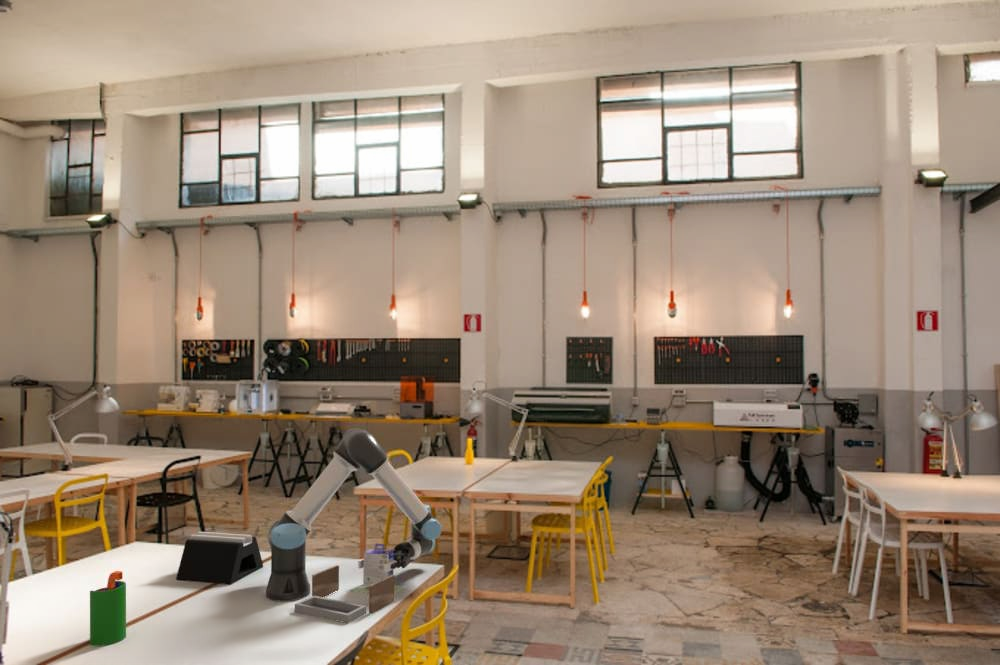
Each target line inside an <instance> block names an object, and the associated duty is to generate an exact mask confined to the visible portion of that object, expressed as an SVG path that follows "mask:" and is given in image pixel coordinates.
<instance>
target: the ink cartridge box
mask: <svg viewBox="0 0 1000 665" xmlns="http://www.w3.org/2000/svg"><path fill="white" fill-rule="evenodd" d="M385 548H386V545H385V543H375V545H374V549H368V550H365V551H364V552H363V559H364V567H363V574H362V576H363V577H362V578H363V579H362V581H363V583H362V584H363V586H366V587H369V585H372V584H374V583H376V582H378V581H380V580H382V579H384V578H387V577H389V576H391V575H394V569H393V570H391V571H389V572H386V573H383V572H384V565H385V564H387V563H389V562H391V561H394V551H393V550H394V549H391V550H389V549H385ZM384 549H385V550H384Z"/></svg>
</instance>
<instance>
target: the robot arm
mask: <svg viewBox="0 0 1000 665" xmlns="http://www.w3.org/2000/svg"><path fill="white" fill-rule="evenodd" d="M360 468H361V469H363V470H364V471H365V473H366V474H367V475H371V476H372V477H373V478H374V479H375V481H376V482H377V483H378V484H379V485H380V486H381V487H382V489H383V490H384V491H385V492H386V494H388V496H389V497H390V498H391V499H392V501H393V502H394V503H395V504H396V506H397V507H398V508H399V509H400V510H401V511H402V513H403V514H404V515H405V516H406V518H408V520H409V521H410V522H411V524H410V525H411V527H410V528H411V533H410V535H411V537H410V538H409V539H407V540H405V541H402V542H400V543H398V544H396V545H395V546H394V548H393V549H392V550H393V551H394V561H391V562H389V563H387V564H385V565H384V572H383V573H386V572H389V571H391V570H393V571H394V570H395V569H399V568H402V569H405V568H407V566H408V565H409V564H410V563H412V562H414V560H415V559H418V558H420V557H422V556H425V555H427V554H428V553H431V552H432V551H433V550H434V549H435V547H436V539H438V538H439V537H440V536H441V533H442V531H443V530H442V528H443V527H442V525H441V523H440V522H439V520H437V519H436V518H435V516H433V514H432V512H431V511H432V510H431V506H430V505H429V504H424V503H423V502H422V501H421V500H420V498H419V497H418V496H417V495H416V493H415V492H414V491H413V490H412V489H411V488H410V486H409V485H408V484H407V482H406V481H405V480H404V479H403V478H402V476H401V475H400V474H399V472H397V470H396V469H395V468H394V467H393V466H392V464H391V463H390V462H389V456H388V455H387V454H386V452H385V451H384V450H383V448H382V446H381V445H380V444H379V442H378V440H377V439H376V437H374V435H373V434H371V433H369V432H368V431H367V430H365V429H362V428H352V429H349V430H347V431H346V432H345V433H344V434H343V436H342V438H341V439H340V443H339V444H338V446H336V448H335V449H334V451H333V459H332V460H331V461H330V462H329V464H327V466H326V467H325V468H324V470H323V471H322V472H321V473H320V475H319V476H318V477H317V479H316V480H315V481H314V482H313V484H312V485H311V486H310V487H309V488H308V490H306V492H305V494H304V495H303V496H302V498H301V499H300V500H299V502H297V504H296V505H295V507H294V508H293V509H292V510H291V509H290V510H287V511H285V512H284V514H283V515H282V517H281V518H280V519H278V520H277V521H275V522H274V523H273V524H272V525H271V527H270V528H269V531H268V535H267V536H268V537H267V538H268V539H267V540H268V544H269V547H270V549H271V550H270V551H271V553H270V554H271V559H270V561H271V562H270V563H271V564H270V565H271V566H270V568H271V570H270V571H271V572H270V575H269V578H268V581H267V582H268V583H267V586H266V587H265V597H266V598H267V600H270V601H276V602H289V601H296V600H299V599H303V598H305V597H308V596H309V595H310V594H311V584H310V583H309V579H308V575H307V571H306V563H307V562H306V557H307V556H306V553H307V552H306V547H307V546H306V543H307V542H306V540H307V536H308V535H309V534H310V533H311V531H312V523H313V522H314V521H315V519H316V518H317V517H318V516H319V514H320V513H321V512H322V511H323V510H324V508H325V507H326V505H327V504H328V503H329V502H330V501H331V499H332V498H333V496H334V495H335V493H336V492H337V491H338V490H339V488H340V487H341V486H342V485H343V483H344V482H345V481H346V480H347V478H348V477H349V476H350V474H351V473H352V472H356V471H358V470H359V469H360ZM384 550H386V549H385V548H384ZM357 563H358V567H357V568H358V570H359V569H364V558H361V559H359V560H358V561H357Z"/></svg>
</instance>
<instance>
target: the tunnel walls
mask: <svg viewBox="0 0 1000 665" xmlns="http://www.w3.org/2000/svg"><path fill="white" fill-rule="evenodd" d="M395 577H396V576H395V575H394V574H393V575H391V576H389V577H387V578H384V579H382V580H380V581H378V582H376V583H374V584H372V585H369V594H368V614H370V613H371V614H370V615H372V614H374V613H376V612H377V611H379V609H380V610H381V609H384V608H385V607H387V606H389V605H390V604H393V603H395V594H394V593H395V585H396V584H395V583H396V582H395ZM311 584H312V585H311V597H312V596H318V597H324V598H326V597H328V596H327V595H329V594H331V593H333V592H335V591H338V590H340V565H337V564H336V565H334V566H331V567H328V568H327V569H324V570H322V571H319V572H317V573H314V574H311ZM338 592H339V591H338ZM335 593H336V592H335ZM333 594H334V593H333ZM331 595H332V594H331ZM325 596H326V597H325ZM329 596H330V595H329ZM375 611H376V612H375ZM373 612H374V613H373Z"/></svg>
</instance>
